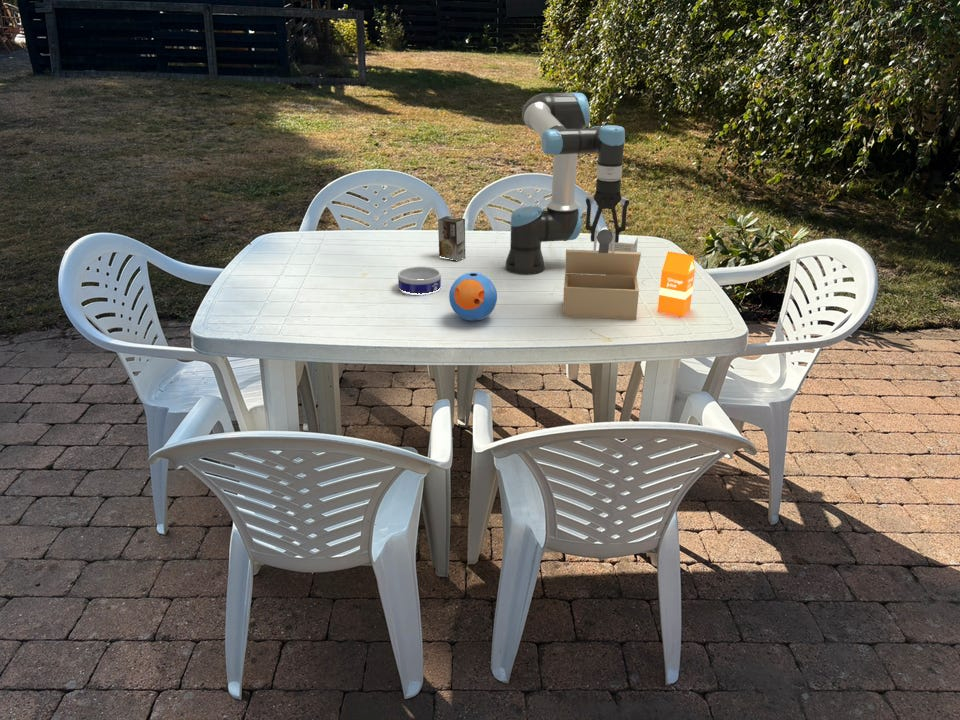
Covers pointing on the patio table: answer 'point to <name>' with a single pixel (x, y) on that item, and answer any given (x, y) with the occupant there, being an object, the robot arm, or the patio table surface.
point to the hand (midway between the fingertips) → (603, 251)
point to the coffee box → (451, 237)
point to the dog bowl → (412, 285)
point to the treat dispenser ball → (473, 296)
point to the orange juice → (676, 284)
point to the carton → (600, 296)
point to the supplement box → (625, 245)
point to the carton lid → (602, 259)
